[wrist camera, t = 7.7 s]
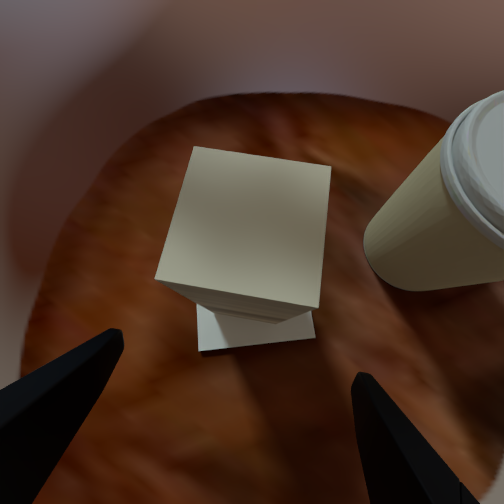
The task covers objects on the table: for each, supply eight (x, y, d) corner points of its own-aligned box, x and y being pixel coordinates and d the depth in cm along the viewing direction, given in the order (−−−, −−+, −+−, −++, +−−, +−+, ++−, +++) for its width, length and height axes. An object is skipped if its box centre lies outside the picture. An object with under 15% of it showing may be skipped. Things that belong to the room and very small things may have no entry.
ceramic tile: (314, 337, 20) (315, 337, 20) (199, 350, 20) (198, 351, 19) (295, 232, 23) (296, 230, 22) (195, 242, 22) (194, 240, 22)
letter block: (278, 324, 20) (325, 309, 7) (213, 313, 20) (154, 278, 8) (286, 263, 21) (336, 167, 9) (226, 253, 22) (194, 146, 9)
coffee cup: (480, 286, 21) (745, 232, 10) (377, 314, 21) (537, 291, 9) (430, 192, 24) (593, 65, 13) (338, 213, 23) (423, 99, 12)
